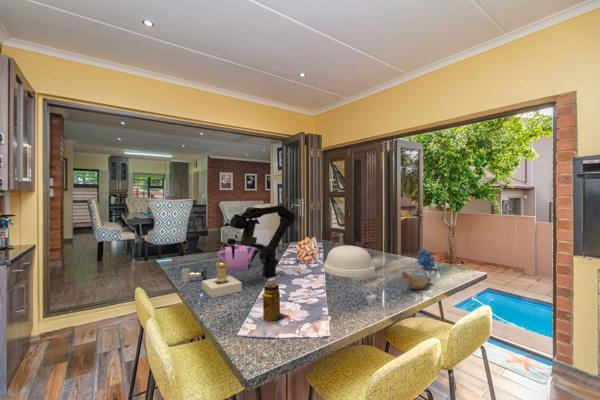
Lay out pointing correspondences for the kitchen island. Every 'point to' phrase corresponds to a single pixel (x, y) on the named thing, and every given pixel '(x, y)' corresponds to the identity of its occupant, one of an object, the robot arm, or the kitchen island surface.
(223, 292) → the jig plate
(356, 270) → the dome cover
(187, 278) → the valve
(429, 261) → the grapes
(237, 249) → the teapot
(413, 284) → the oil lamp
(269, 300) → the condiment
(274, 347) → the kitchen island surface
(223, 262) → the brass bushing
